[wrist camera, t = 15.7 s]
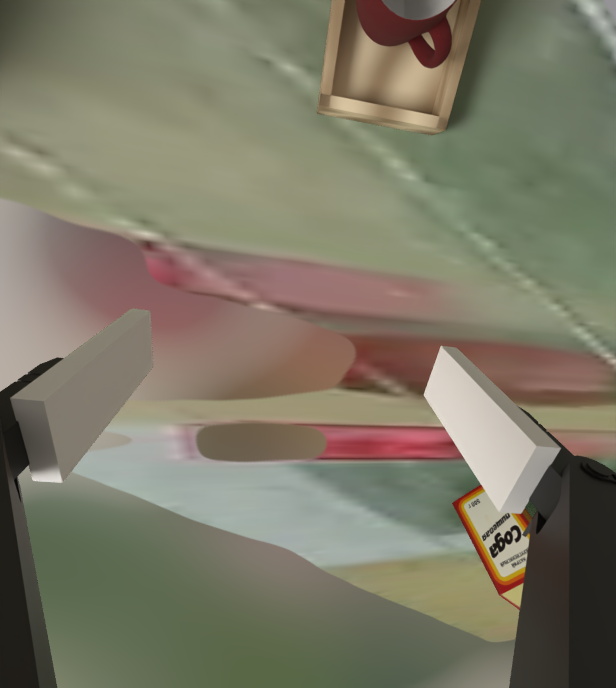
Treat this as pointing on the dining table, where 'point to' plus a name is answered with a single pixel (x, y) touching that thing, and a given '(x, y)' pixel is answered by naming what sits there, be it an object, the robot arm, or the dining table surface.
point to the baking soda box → (497, 541)
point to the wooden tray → (391, 73)
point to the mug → (409, 26)
